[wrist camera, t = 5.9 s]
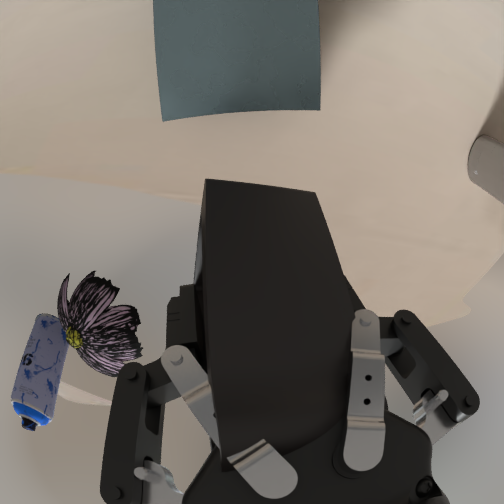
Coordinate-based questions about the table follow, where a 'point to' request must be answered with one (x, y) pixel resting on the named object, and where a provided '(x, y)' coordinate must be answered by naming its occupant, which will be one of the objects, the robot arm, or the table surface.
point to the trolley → (236, 56)
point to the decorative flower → (99, 324)
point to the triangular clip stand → (271, 316)
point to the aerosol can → (40, 372)
